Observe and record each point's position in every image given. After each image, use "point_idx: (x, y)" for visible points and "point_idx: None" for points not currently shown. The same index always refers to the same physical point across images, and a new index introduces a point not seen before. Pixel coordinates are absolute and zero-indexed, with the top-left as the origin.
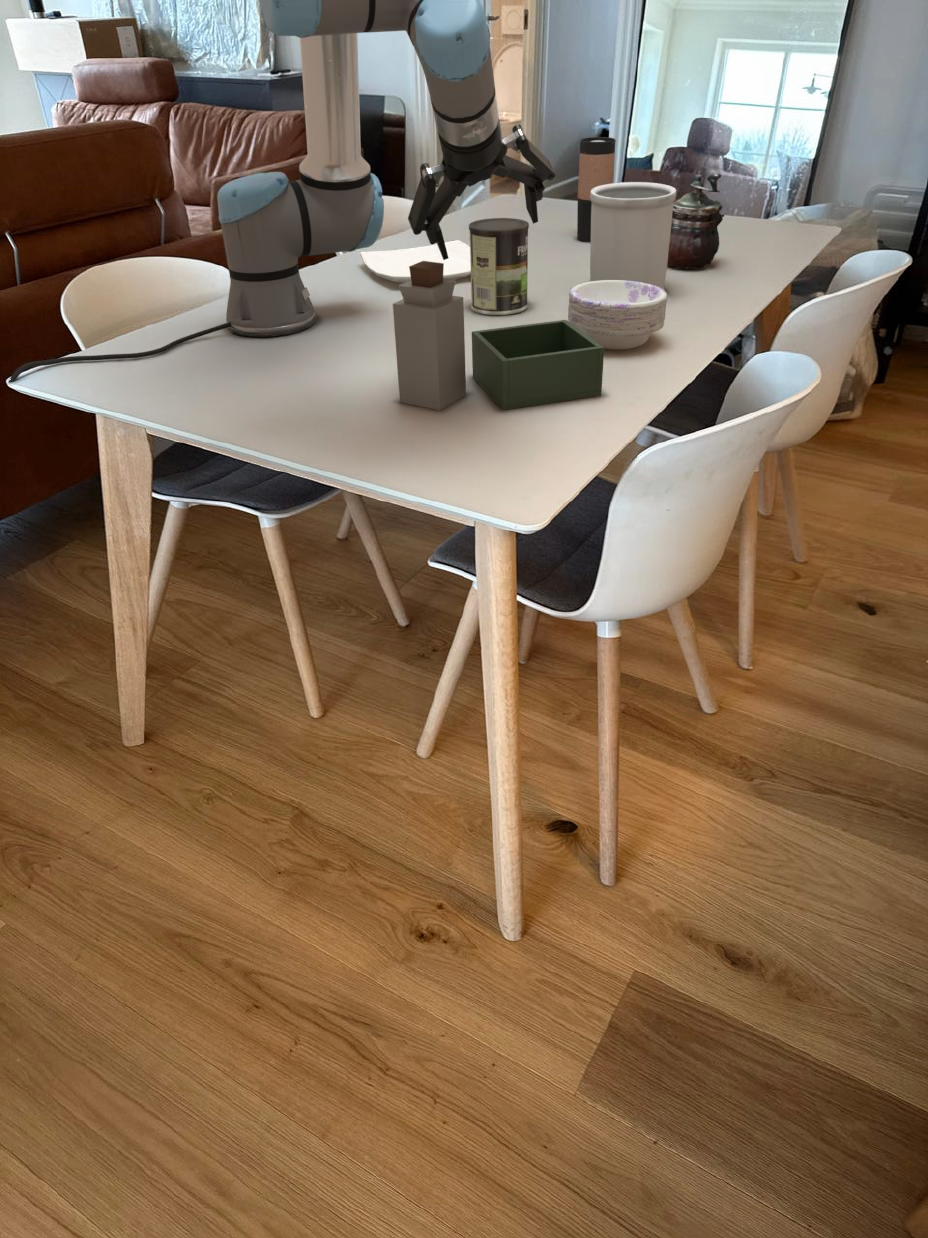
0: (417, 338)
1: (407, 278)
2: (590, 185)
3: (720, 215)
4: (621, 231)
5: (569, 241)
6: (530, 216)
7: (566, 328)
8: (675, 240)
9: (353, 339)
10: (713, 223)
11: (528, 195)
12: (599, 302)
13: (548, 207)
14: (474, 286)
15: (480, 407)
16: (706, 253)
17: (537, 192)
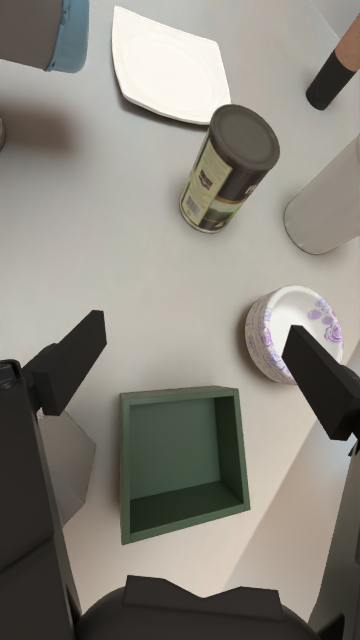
0: None
1: (139, 104)
2: (354, 46)
3: None
4: (354, 208)
5: (299, 93)
6: (285, 347)
7: (232, 406)
8: None
9: (28, 224)
10: None
11: (318, 397)
12: (282, 366)
13: (304, 14)
14: (188, 191)
15: (98, 490)
16: None
17: (348, 455)
